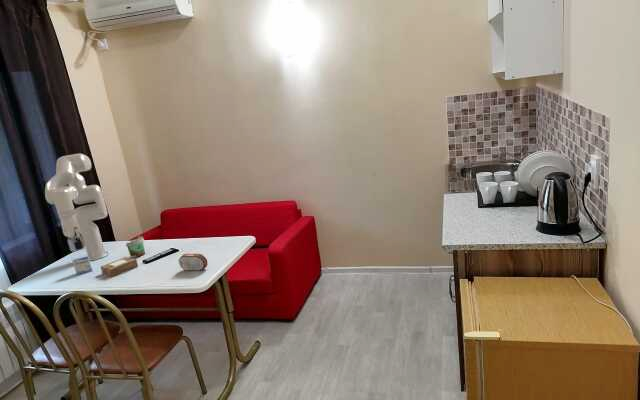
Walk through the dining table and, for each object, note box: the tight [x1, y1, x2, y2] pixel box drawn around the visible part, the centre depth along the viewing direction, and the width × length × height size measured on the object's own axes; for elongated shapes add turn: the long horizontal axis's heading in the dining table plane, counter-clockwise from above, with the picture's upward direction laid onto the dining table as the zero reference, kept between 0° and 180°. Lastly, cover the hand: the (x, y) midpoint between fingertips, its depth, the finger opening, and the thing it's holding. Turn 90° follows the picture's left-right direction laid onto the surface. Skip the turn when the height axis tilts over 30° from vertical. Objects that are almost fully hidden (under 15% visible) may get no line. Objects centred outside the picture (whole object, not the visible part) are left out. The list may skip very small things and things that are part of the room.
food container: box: [125, 235, 146, 259], centre depth 264 cm, size 12×6×10 cm, turn 168°
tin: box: [178, 253, 209, 272], centre depth 226 cm, size 15×3×8 cm, turn 71°
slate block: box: [67, 236, 86, 253], centre depth 231 cm, size 5×5×6 cm
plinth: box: [100, 256, 139, 278], centre depth 244 cm, size 12×14×4 cm
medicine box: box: [72, 254, 93, 276], centre depth 250 cm, size 8×4×9 cm, turn 118°
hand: (77, 247), depth 232 cm, fingers closed on slate block, 5 cm apart
